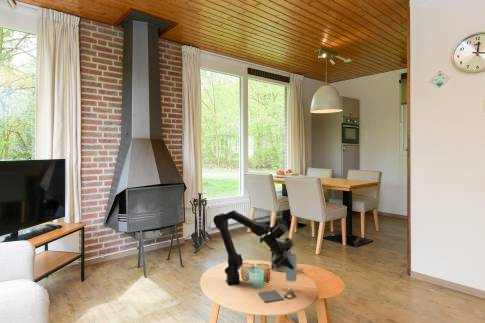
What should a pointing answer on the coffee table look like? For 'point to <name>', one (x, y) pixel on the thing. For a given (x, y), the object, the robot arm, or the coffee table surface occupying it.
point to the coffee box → (276, 267)
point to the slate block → (291, 274)
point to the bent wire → (289, 293)
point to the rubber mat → (270, 296)
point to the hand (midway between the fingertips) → (294, 267)
